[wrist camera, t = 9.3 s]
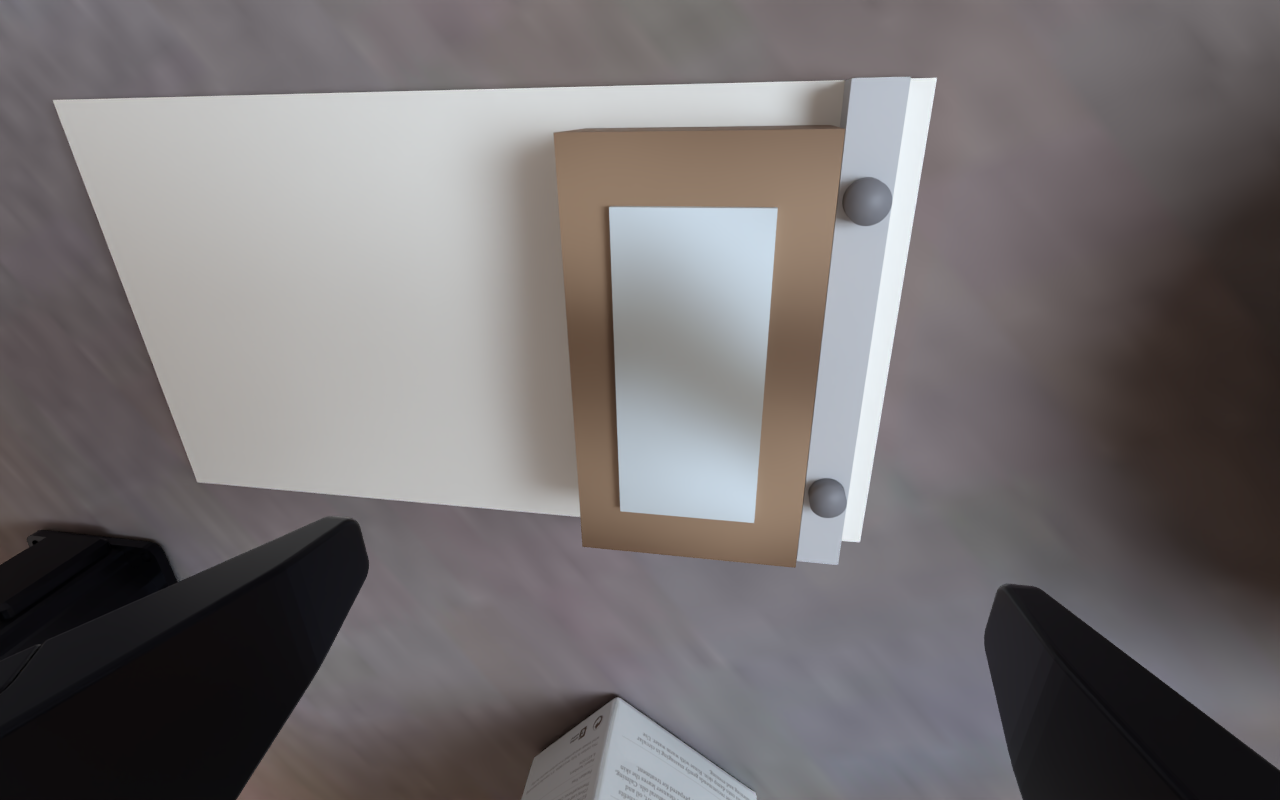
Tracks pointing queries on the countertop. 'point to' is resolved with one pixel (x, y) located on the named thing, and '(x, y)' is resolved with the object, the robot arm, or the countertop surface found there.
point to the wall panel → (447, 279)
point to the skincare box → (626, 763)
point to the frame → (695, 330)
